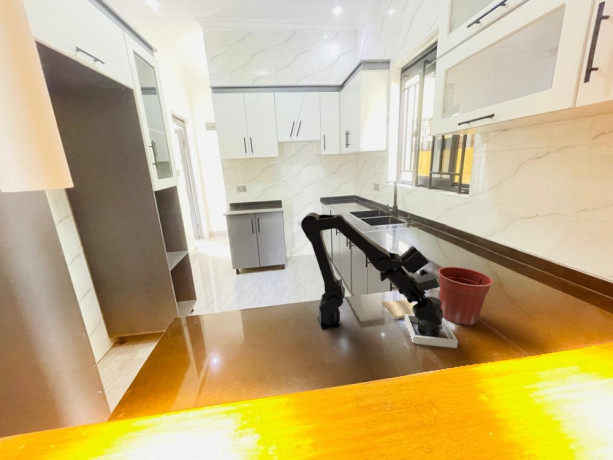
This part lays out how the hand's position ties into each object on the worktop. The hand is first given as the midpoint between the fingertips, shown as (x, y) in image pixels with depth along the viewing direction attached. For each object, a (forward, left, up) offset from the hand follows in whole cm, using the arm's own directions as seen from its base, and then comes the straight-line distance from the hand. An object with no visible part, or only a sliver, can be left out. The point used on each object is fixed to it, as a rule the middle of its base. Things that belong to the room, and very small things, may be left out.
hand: (435, 315), depth 81 cm
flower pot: (+16, +7, -7) cm, 19 cm away
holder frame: (-1, 0, -7) cm, 7 cm away
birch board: (-2, +14, -7) cm, 16 cm away
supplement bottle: (-1, 0, -7) cm, 7 cm away
